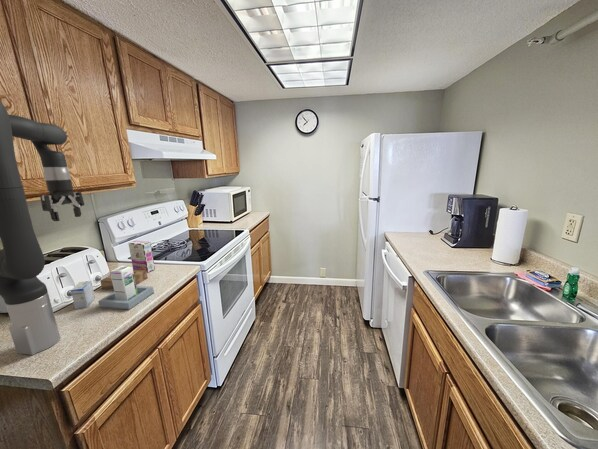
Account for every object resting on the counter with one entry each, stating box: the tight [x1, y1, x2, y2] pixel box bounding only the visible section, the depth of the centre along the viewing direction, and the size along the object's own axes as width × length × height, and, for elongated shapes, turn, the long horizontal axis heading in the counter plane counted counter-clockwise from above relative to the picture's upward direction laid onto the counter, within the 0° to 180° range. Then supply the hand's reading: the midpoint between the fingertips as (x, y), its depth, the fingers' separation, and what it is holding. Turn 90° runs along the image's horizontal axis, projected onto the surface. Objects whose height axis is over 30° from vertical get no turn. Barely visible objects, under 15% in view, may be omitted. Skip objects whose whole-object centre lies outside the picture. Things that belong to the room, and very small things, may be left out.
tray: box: [97, 285, 155, 311], centre depth 110 cm, size 14×14×3 cm
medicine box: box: [70, 280, 96, 310], centre depth 107 cm, size 8×4×9 cm, turn 21°
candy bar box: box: [128, 240, 156, 274], centre depth 139 cm, size 11×5×16 cm, turn 71°
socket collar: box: [99, 269, 149, 291], centre depth 125 cm, size 13×13×4 cm
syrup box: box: [109, 265, 138, 301], centre depth 108 cm, size 6×6×14 cm
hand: (67, 218), depth 104 cm, fingers open, 8 cm apart
